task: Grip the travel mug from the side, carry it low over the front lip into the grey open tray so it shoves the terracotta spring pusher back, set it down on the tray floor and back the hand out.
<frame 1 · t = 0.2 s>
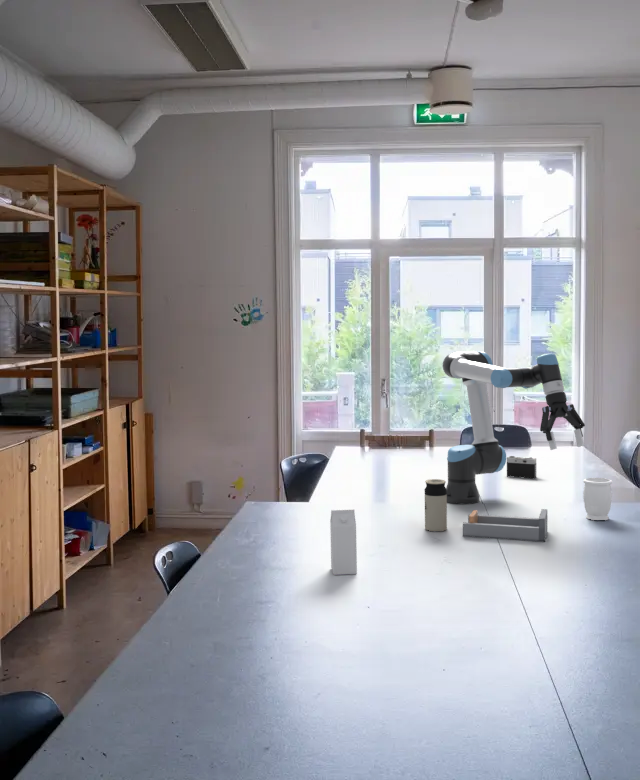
hand: (567, 447, 297), 28 cm above the table, tool tilted 20°, fingers open, 13 cm apart
jar: (597, 519, 299), on the table
camera: (522, 476, 390), on the table
milk carton: (343, 572, 239), on the table
grey open tray: (505, 533, 279), on the table
travel mug: (435, 529, 288), on the table
pusher: (473, 521, 283), point 4 cm above the table, slide at 0.0 cm
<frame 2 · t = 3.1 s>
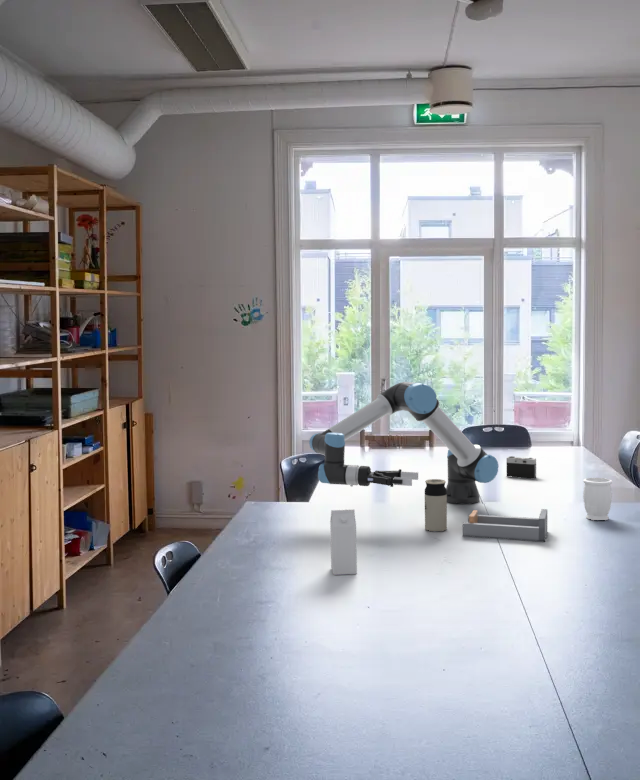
hand: (415, 479, 289), 18 cm above the table, tool horizontal, fingers open, 13 cm apart
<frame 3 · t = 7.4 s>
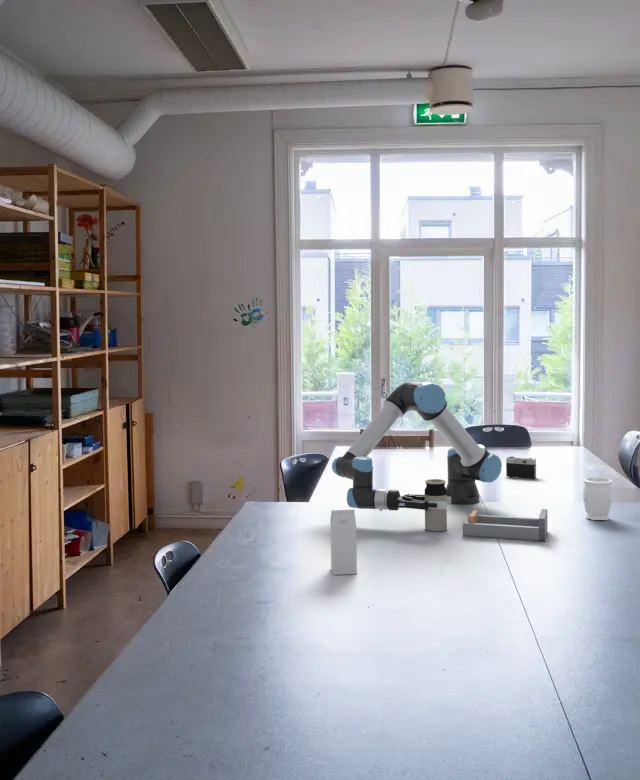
hand: (448, 503, 285), 10 cm above the table, tool horizontal, fingers closed on travel mug, 8 cm apart
travel mug: (435, 529, 288), on the table, touching gripper
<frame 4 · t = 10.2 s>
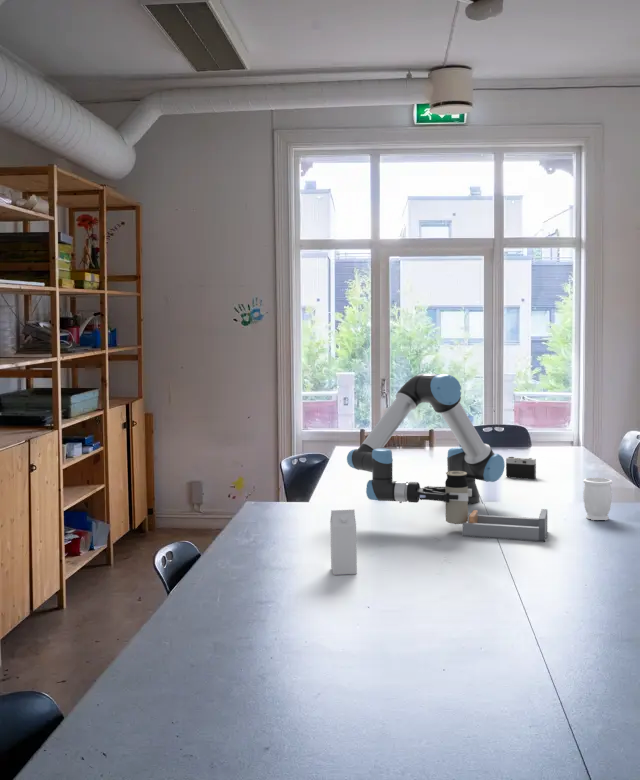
hand: (469, 495, 282), 13 cm above the table, tool horizontal, fingers closed on travel mug, 8 cm apart
travel mug: (456, 522, 285), point 3 cm above the table, touching gripper
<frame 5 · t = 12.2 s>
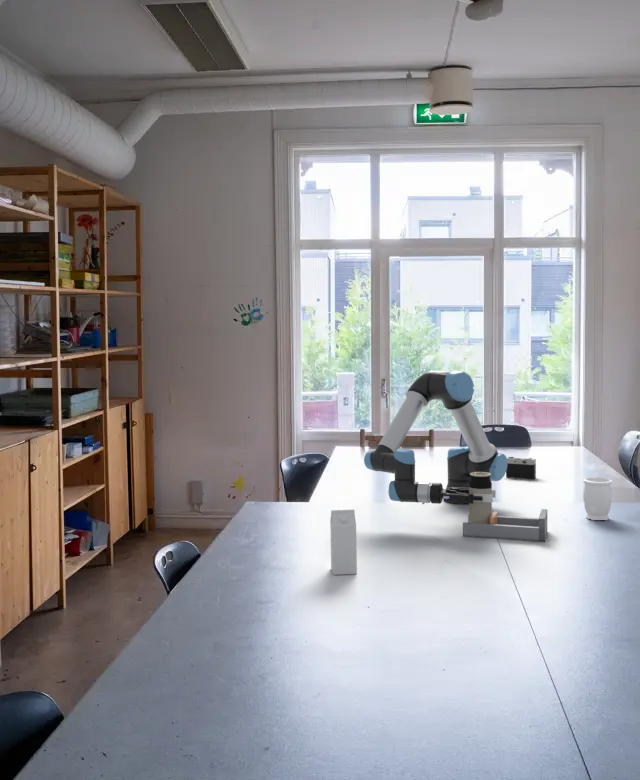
hand: (493, 496, 280), 13 cm above the table, tool horizontal, fingers closed on travel mug, 8 cm apart
travel mug: (480, 523, 282), point 3 cm above the table, touching gripper, pusher
pusher: (493, 522, 280), point 4 cm above the table, slide at 7.2 cm, touching travel mug
when the fingers open (12 cm above the table, at t = 13.3 s): travel mug stays where it is, resting on grey open tray, pusher.
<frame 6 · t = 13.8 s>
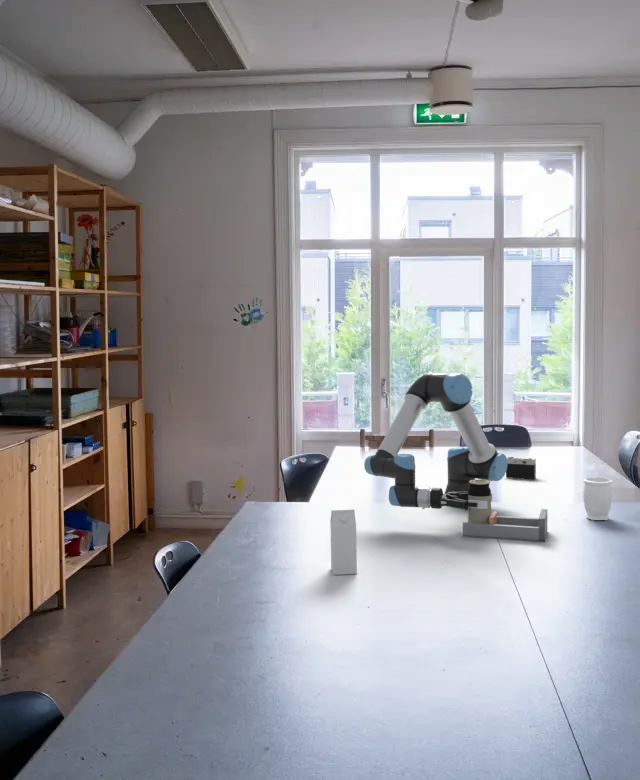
hand: (489, 500, 280), 12 cm above the table, tool horizontal, fingers open, 13 cm apart
travel mug: (479, 531, 282), resting on grey open tray, pusher
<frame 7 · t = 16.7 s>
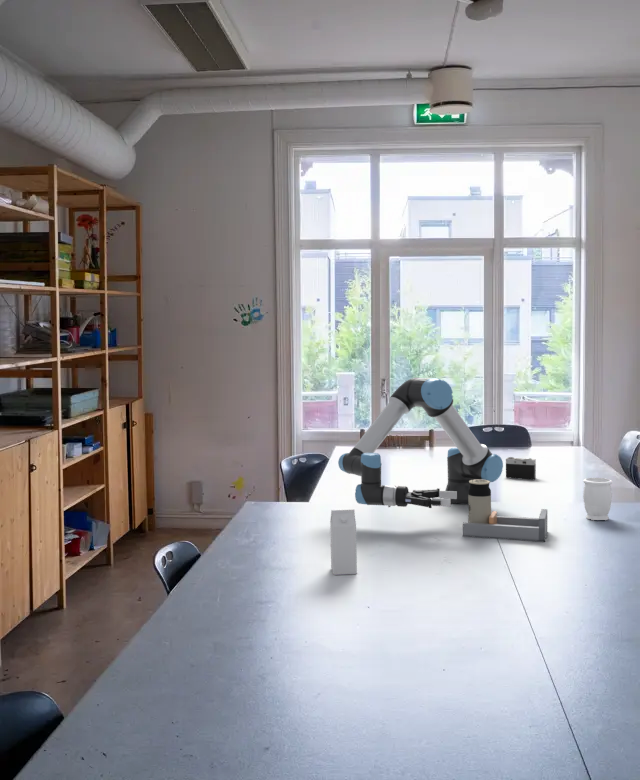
hand: (453, 499, 285), 12 cm above the table, tool horizontal, fingers open, 13 cm apart
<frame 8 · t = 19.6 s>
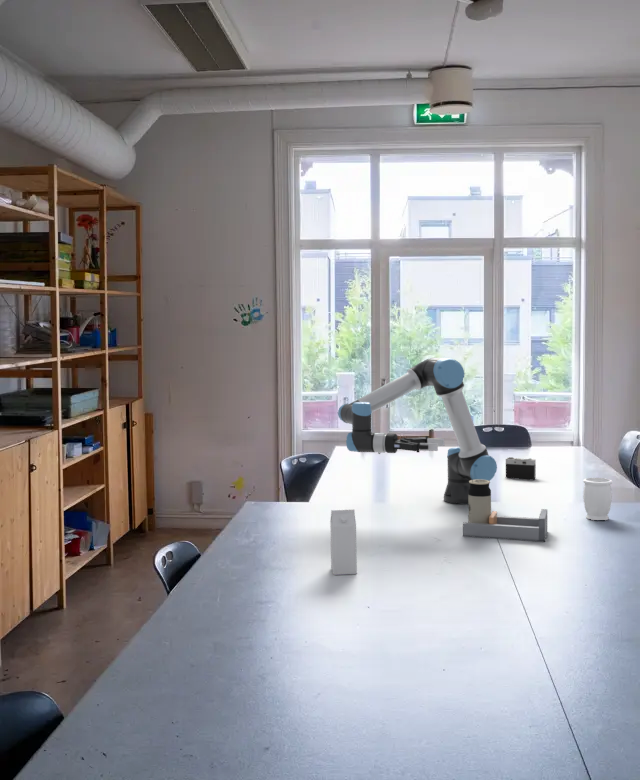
hand: (441, 444, 295), 30 cm above the table, tool horizontal, fingers open, 13 cm apart
at the end: travel mug 0.5 cm from the target spot on the grey open tray, point 0.4 cm above the grey open tray's base; travel mug tilted 0°; pusher slide at 7.0 cm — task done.
